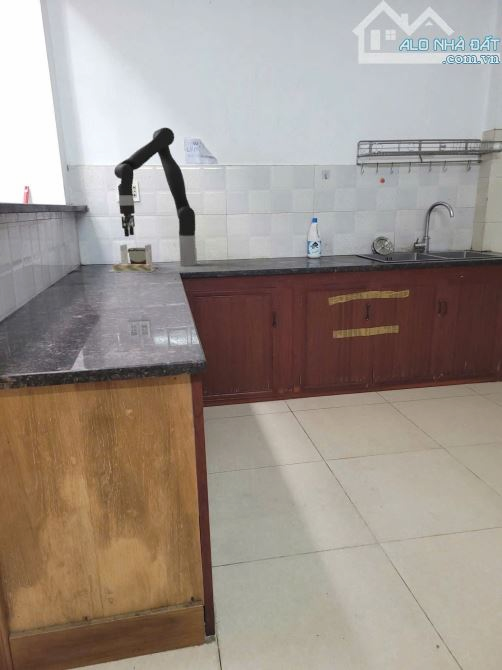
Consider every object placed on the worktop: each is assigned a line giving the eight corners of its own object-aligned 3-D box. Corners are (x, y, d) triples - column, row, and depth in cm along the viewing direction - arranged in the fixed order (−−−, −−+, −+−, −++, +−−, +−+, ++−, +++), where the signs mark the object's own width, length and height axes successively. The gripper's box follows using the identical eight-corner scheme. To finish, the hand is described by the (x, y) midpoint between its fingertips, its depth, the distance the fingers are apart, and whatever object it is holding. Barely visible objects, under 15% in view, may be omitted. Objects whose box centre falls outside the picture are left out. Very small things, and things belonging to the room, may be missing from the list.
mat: (155, 269, 262) (155, 269, 262) (151, 272, 254) (151, 271, 254) (113, 269, 263) (113, 269, 263) (108, 272, 256) (108, 271, 256)
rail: (150, 269, 259) (150, 264, 259) (149, 270, 257) (149, 265, 256) (115, 269, 261) (114, 264, 260) (113, 270, 258) (112, 265, 257)
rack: (156, 267, 271) (154, 244, 267) (153, 269, 264) (151, 245, 261) (122, 267, 272) (120, 244, 269) (118, 269, 266) (116, 245, 262)
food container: (152, 264, 282) (151, 247, 279) (149, 266, 276) (147, 248, 273) (132, 264, 283) (130, 247, 280) (128, 265, 278) (127, 248, 275)
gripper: (129, 204, 242) (132, 236, 246) (137, 204, 255) (140, 234, 260) (115, 204, 242) (118, 237, 247) (123, 204, 256) (126, 234, 260)
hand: (129, 235), depth 253 cm, fingers open, 8 cm apart
